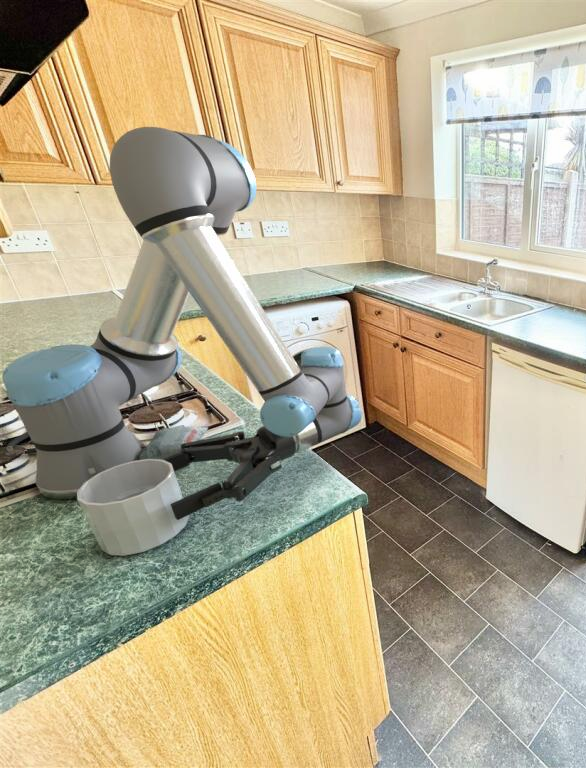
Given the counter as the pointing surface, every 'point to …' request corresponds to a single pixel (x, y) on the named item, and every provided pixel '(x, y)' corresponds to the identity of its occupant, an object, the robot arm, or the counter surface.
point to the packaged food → (171, 441)
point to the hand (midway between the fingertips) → (155, 493)
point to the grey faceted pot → (132, 506)
